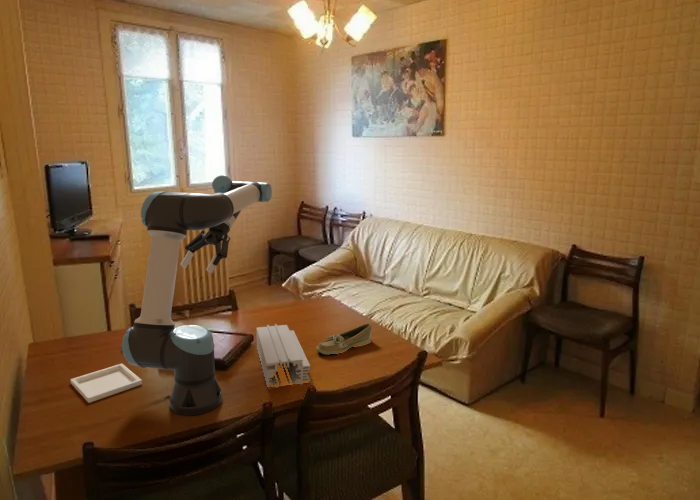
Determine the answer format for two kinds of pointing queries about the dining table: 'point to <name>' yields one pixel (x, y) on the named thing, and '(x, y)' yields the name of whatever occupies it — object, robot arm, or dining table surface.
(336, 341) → the boat shoe
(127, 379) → the tray
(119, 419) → the dining table surface
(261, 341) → the aluminum extrusion profile
